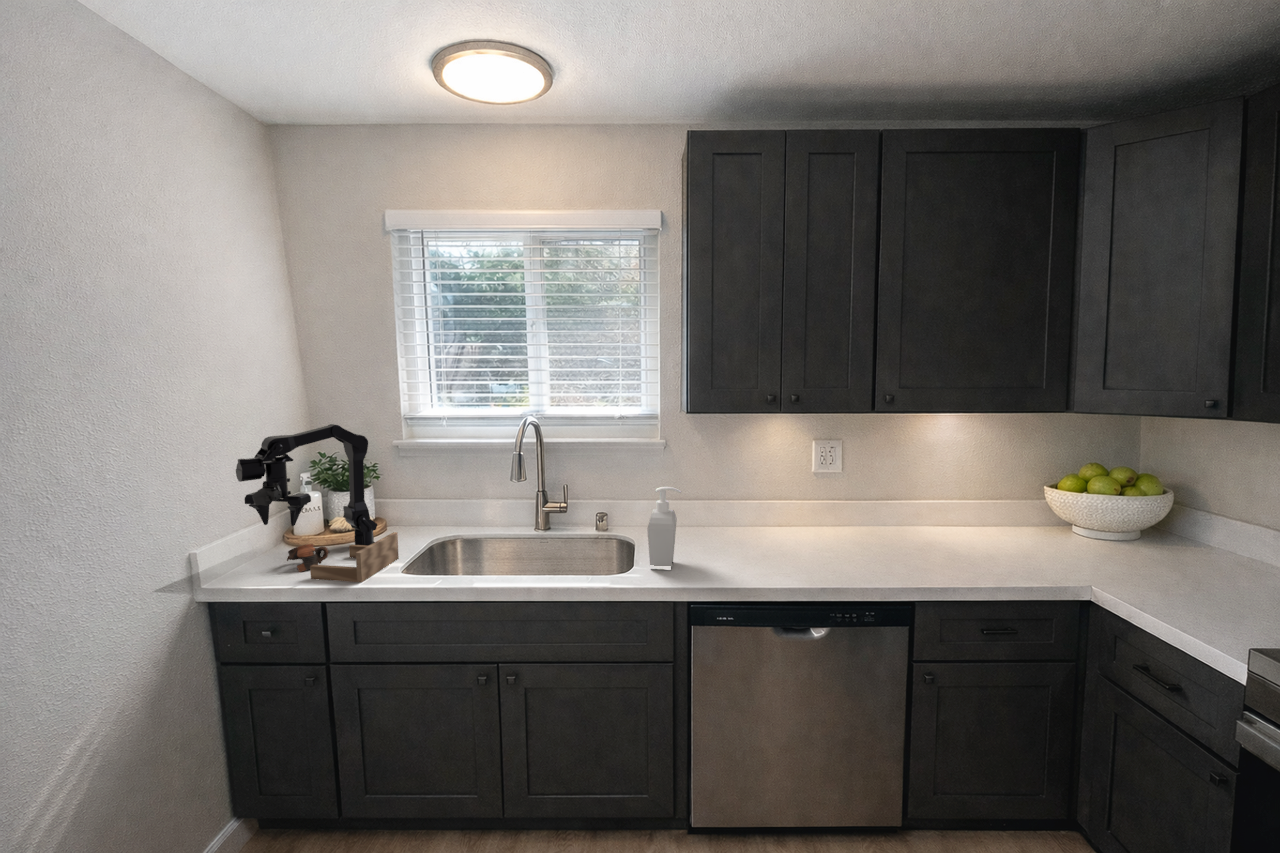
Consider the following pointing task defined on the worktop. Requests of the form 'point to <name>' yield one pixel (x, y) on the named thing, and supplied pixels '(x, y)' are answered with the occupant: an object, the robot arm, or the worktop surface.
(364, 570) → the walnut bay
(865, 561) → the worktop surface
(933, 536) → the worktop surface
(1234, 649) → the worktop surface
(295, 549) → the pottery mug
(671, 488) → the soap bottle
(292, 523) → the robot arm
